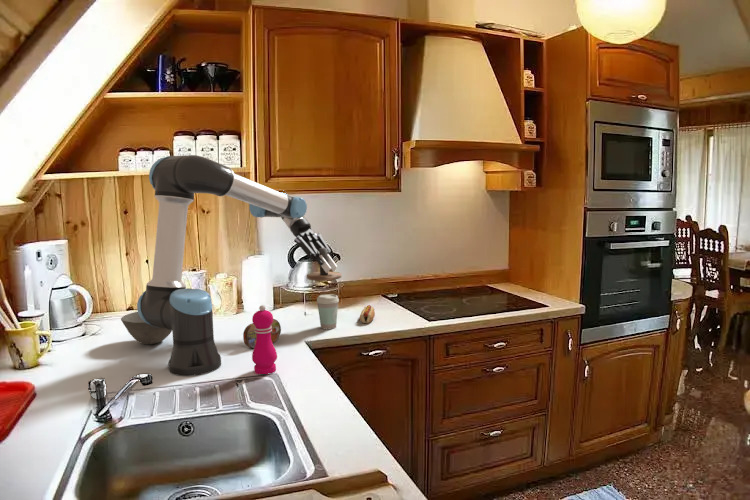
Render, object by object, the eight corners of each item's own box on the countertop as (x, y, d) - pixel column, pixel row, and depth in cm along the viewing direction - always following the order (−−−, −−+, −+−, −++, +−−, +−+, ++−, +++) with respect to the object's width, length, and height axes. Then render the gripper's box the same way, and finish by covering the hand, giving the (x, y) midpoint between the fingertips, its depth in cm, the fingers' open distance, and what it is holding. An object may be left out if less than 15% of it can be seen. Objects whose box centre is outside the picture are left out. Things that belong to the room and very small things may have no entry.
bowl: (151, 354, 174) (149, 324, 173) (111, 347, 182) (108, 319, 181) (192, 338, 191) (191, 311, 190) (154, 332, 199) (152, 306, 198)
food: (372, 324, 205) (372, 312, 204) (358, 324, 206) (358, 312, 205) (376, 315, 219) (375, 303, 218) (362, 315, 219) (362, 303, 219)
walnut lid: (332, 281, 192) (331, 251, 190) (300, 279, 196) (299, 250, 195) (346, 274, 204) (346, 246, 202) (316, 273, 208) (315, 245, 207)
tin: (248, 351, 176) (247, 326, 174) (242, 349, 177) (240, 325, 176) (282, 340, 187) (281, 316, 186) (275, 338, 189) (274, 315, 188)
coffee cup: (336, 330, 197) (335, 299, 196) (314, 329, 199) (313, 298, 198) (342, 324, 206) (341, 294, 204) (321, 323, 207) (320, 293, 206)
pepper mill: (266, 377, 152) (263, 309, 149) (247, 373, 156) (244, 306, 153) (282, 369, 158) (279, 303, 156) (263, 365, 162) (260, 301, 159)
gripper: (306, 228, 213) (340, 272, 206) (278, 232, 200) (312, 279, 193) (316, 215, 209) (350, 260, 202) (287, 218, 196) (323, 266, 189)
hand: (332, 269), depth 197 cm, fingers closed on walnut lid, 3 cm apart
